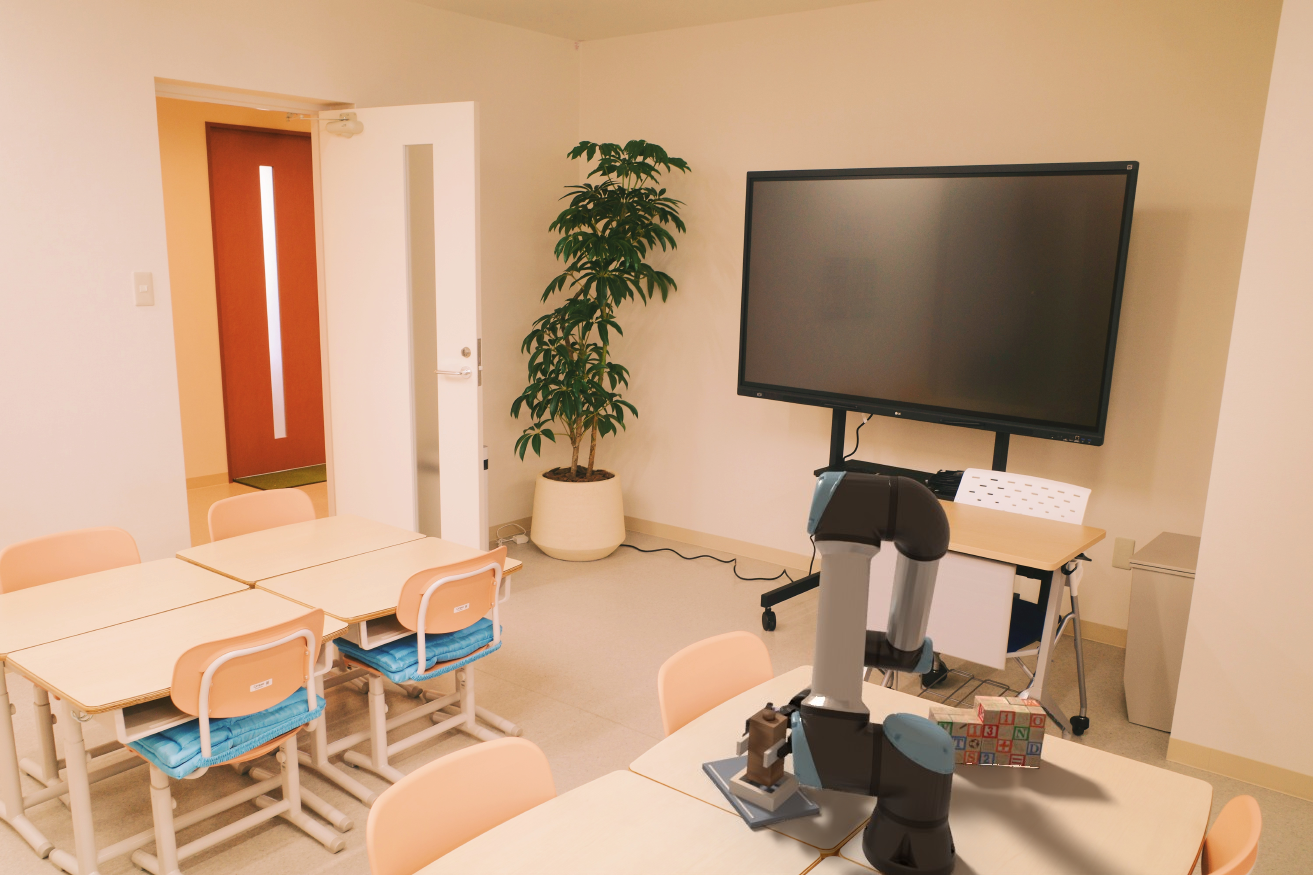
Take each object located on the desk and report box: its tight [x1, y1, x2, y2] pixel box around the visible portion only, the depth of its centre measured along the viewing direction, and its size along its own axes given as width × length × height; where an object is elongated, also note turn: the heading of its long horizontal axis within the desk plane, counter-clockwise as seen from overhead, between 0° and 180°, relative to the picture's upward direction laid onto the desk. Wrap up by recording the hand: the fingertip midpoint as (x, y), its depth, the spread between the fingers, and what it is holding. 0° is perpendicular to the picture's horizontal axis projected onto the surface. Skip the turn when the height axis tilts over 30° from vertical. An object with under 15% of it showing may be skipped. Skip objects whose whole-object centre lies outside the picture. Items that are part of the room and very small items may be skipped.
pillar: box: [746, 707, 788, 788], centre depth 163 cm, size 5×5×13 cm
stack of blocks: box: [927, 695, 1047, 768], centre depth 180 cm, size 21×6×12 cm, turn 87°
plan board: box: [701, 754, 820, 829], centre depth 167 cm, size 20×14×1 cm
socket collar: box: [729, 766, 800, 812], centre depth 164 cm, size 9×9×2 cm
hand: (751, 754), depth 159 cm, fingers closed on pillar, 5 cm apart
